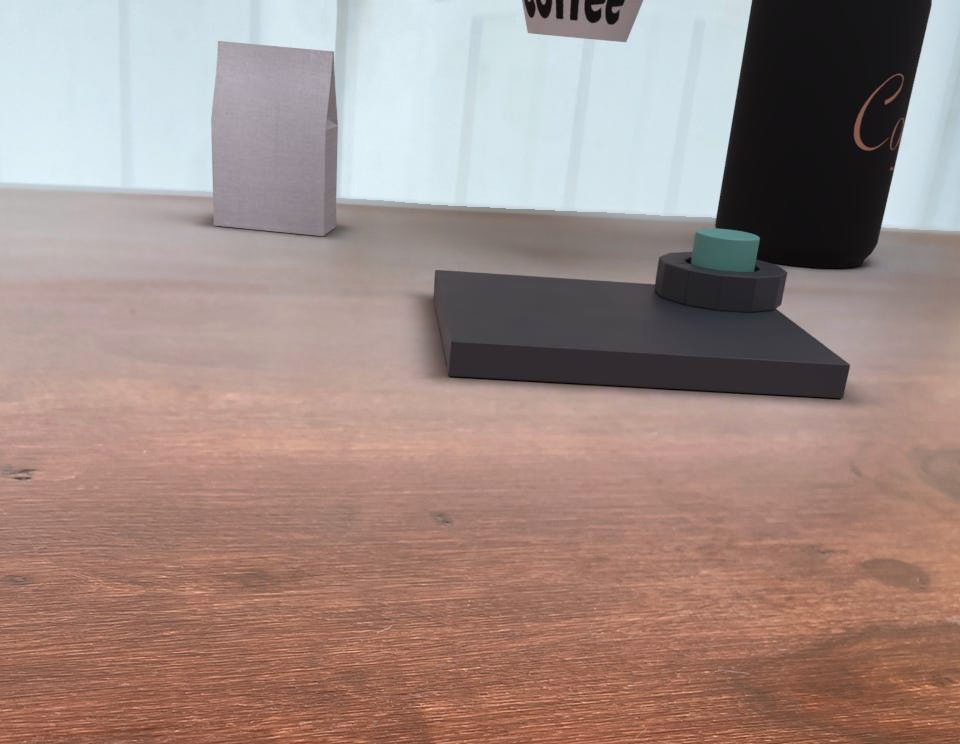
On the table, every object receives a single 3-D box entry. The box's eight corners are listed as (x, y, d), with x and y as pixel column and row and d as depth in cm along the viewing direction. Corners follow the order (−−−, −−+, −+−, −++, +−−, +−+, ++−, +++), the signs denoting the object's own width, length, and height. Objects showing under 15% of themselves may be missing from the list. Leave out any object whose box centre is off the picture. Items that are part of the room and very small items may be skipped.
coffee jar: (850, 277, 73) (924, -59, 65) (688, 250, 78) (738, -69, 69) (889, 257, 82) (959, -43, 73) (741, 233, 86) (791, -53, 78)
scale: (753, 317, 61) (765, 256, 59) (853, 399, 48) (871, 324, 46) (432, 296, 59) (436, 233, 57) (448, 376, 46) (453, 298, 45)
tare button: (743, 267, 58) (749, 230, 57) (760, 280, 55) (768, 241, 54) (683, 263, 58) (689, 226, 57) (698, 276, 55) (704, 237, 54)
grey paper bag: (323, 236, 72) (326, 52, 67) (213, 225, 72) (209, 41, 67) (335, 227, 75) (339, 51, 70) (230, 216, 75) (227, 40, 70)
